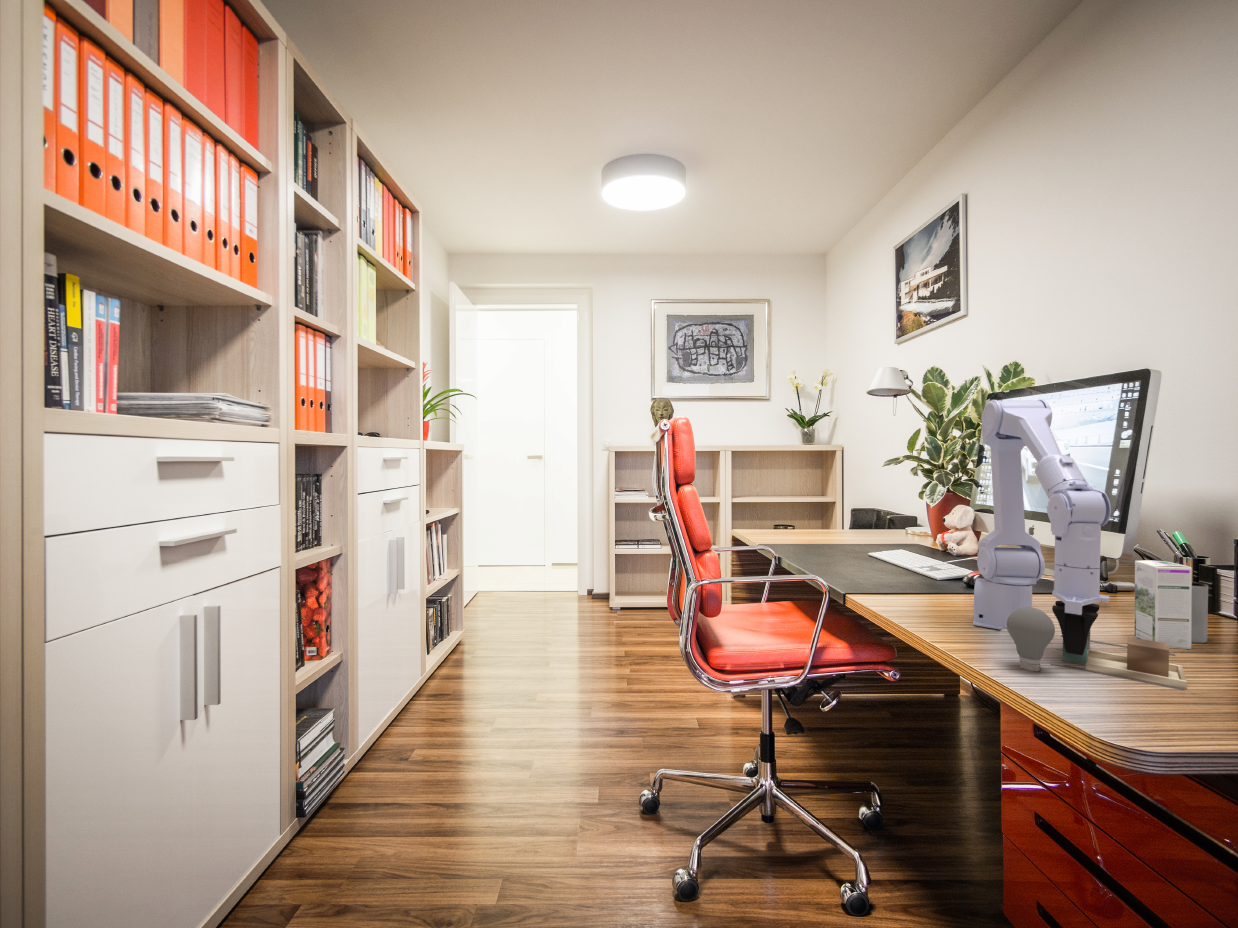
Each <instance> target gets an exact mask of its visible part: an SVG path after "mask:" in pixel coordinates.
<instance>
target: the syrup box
mask: <svg viewBox="0 0 1238 928" xmlns="http://www.w3.org/2000/svg"><path fill="white" fill-rule="evenodd" d="M1192 571H1193V567H1191V566H1189V565H1183V564H1179V563H1176V562H1171V561H1165V560H1156V559H1155V560H1153V559H1152V560H1150V559H1145V560H1144V559H1143V560H1141V559H1140V560H1134V630H1133V631H1134V634H1133V635H1134V637H1133V638H1138V639H1144V640H1150V641H1157V642H1163V643H1167V644H1168V648H1174V649H1181V650H1192V642H1191V599H1192V582H1193V581H1192V580H1193V579H1192V577H1193V576H1192V575H1193V574H1192Z"/></svg>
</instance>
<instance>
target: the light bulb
mask: <svg viewBox="0 0 1238 928" xmlns="http://www.w3.org/2000/svg"><path fill="white" fill-rule="evenodd" d="M1055 627H1056V626H1055V623H1054V622H1053V621H1052V619H1051V617H1049V615H1048V614H1047V613H1045V612H1044V611H1042V610H1041V609H1038V608H1035V607H1033V606H1032V607H1022V608H1018V609H1016V610H1015V611H1013V612H1012V613H1011V614H1010V616H1009V617H1008V619H1007V628H1006V629H1007V632H1008V633H1009V635H1010V637H1011V639H1012V641H1013V642H1014V644H1015V647H1016V652H1017V654H1018V657H1019V659H1018V660H1019V662H1018V663H1019V664H1018V665H1019V667H1020V669H1022V670H1025V671H1031V672H1038V671H1041V659H1042V658H1043V656H1044V652H1045V649H1046V648H1047V647H1048V646H1049V644H1051V641H1052V640H1053V639H1054V637H1055V631H1056V628H1055Z"/></svg>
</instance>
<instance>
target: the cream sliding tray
mask: <svg viewBox="0 0 1238 928" xmlns="http://www.w3.org/2000/svg"><path fill="white" fill-rule="evenodd" d="M1062 649H1063V651H1062V659H1061V660H1062V661H1063V662H1068V663H1071V664H1072V663H1074V664H1078V665H1083V666H1085V669H1087V670H1092V671H1097V672H1102V673H1107V674H1113V675H1118V676H1123V677H1128V678H1133V679H1139V680H1144V681H1149V682H1154V683H1159V684H1165V685H1170V686H1175V687H1180V688H1184V689H1185V690H1188V689H1187V684H1188V681H1187V677H1186V675H1185V671H1184V668H1183V665H1179V664H1174V663H1169V677H1164V676H1158V675H1153V674H1148V673H1142V672H1137V671H1132V670H1127V655H1123V654H1122V655H1121V654H1118V653H1111V652H1105V651H1100V650H1099V651H1098V650H1094V649H1088V638H1087V642H1086V647H1085V650H1084V653H1083V655H1077V654H1071V653H1067V652H1066V650H1065V647H1064V643H1063V642H1062Z"/></svg>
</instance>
